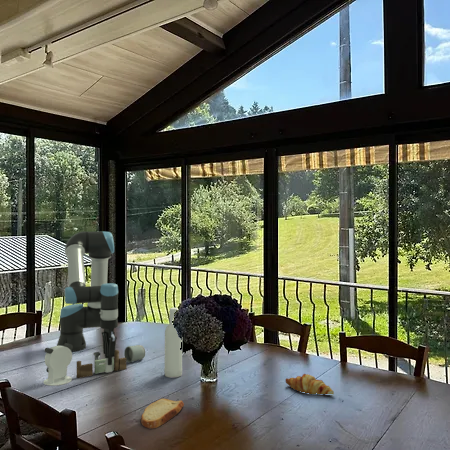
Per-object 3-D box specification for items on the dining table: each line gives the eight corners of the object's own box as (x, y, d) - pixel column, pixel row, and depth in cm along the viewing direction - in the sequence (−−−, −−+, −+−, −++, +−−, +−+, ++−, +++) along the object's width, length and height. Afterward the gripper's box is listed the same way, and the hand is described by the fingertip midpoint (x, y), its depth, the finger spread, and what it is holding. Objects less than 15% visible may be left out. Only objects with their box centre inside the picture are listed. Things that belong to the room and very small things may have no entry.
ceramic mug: (146, 360, 221) (146, 344, 221) (132, 364, 215) (132, 348, 215) (133, 356, 228) (133, 341, 228) (120, 359, 222) (120, 344, 222)
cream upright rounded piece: (62, 374, 199) (63, 341, 199) (78, 379, 193) (78, 345, 193) (38, 382, 190) (38, 346, 190) (53, 387, 183) (54, 351, 183)
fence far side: (75, 377, 196) (76, 361, 196) (91, 374, 200) (91, 358, 200) (77, 378, 194) (77, 362, 194) (92, 375, 198) (92, 359, 198)
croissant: (336, 403, 178) (339, 383, 181) (328, 398, 171) (332, 377, 174) (287, 390, 190) (292, 372, 193) (278, 386, 182) (283, 366, 185)
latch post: (93, 372, 202) (93, 352, 202) (98, 371, 204) (98, 351, 204) (95, 373, 200) (95, 353, 200) (100, 372, 202) (100, 353, 202)
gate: (112, 369, 205) (112, 357, 205) (113, 370, 204) (113, 358, 204) (94, 372, 200) (94, 360, 200) (95, 373, 199) (95, 361, 199)
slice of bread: (145, 431, 146) (145, 419, 146) (132, 410, 162) (132, 400, 162) (196, 421, 154) (196, 410, 154) (178, 402, 170) (178, 392, 170)
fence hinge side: (112, 370, 206) (113, 349, 206) (124, 367, 209) (124, 347, 209) (114, 371, 204) (114, 350, 204) (126, 369, 207) (126, 348, 207)
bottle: (166, 371, 204) (166, 306, 204) (183, 372, 204) (183, 306, 204) (163, 377, 196) (163, 309, 196) (180, 378, 196) (181, 310, 196)
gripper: (96, 317, 201) (95, 369, 201) (105, 322, 190) (105, 377, 190) (112, 315, 205) (111, 366, 205) (122, 320, 194) (122, 374, 194)
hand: (108, 371), depth 198 cm, fingers closed
